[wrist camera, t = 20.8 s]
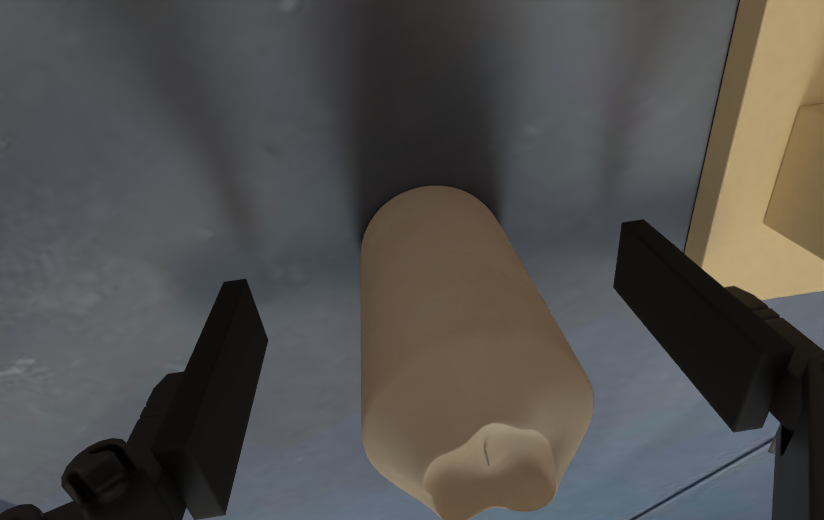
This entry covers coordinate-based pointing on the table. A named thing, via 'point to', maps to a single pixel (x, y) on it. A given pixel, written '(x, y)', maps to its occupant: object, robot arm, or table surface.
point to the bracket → (766, 156)
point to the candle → (462, 361)
